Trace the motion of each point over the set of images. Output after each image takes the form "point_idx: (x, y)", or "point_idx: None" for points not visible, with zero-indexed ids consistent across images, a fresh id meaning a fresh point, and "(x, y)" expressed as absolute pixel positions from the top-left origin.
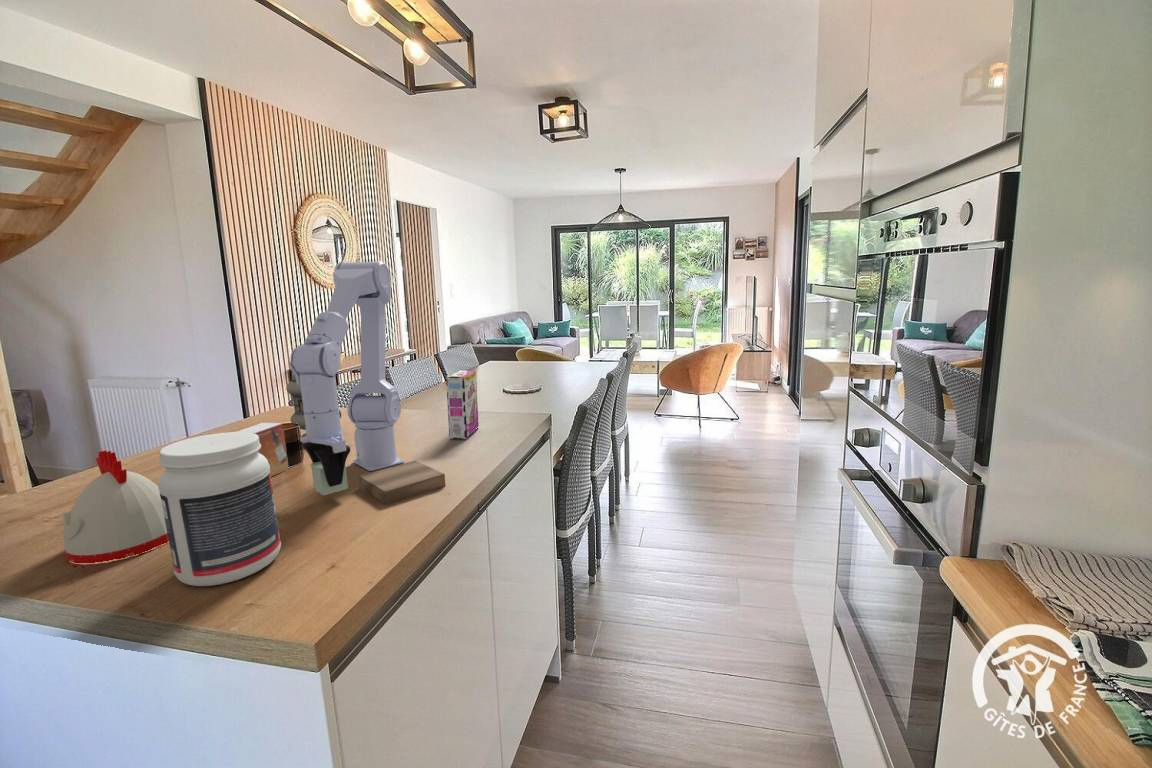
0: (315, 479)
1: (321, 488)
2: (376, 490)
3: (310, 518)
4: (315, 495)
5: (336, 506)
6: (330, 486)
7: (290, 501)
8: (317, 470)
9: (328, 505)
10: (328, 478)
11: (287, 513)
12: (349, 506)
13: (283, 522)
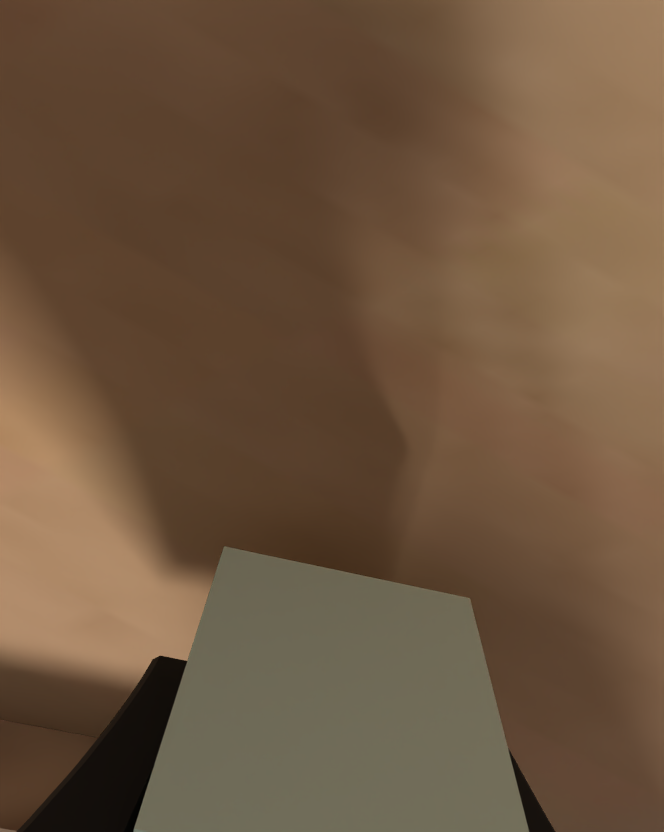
0: (398, 681)
1: (228, 598)
2: (7, 787)
3: (89, 283)
4: (543, 580)
5: (156, 531)
6: (158, 658)
7: (648, 411)
8: (255, 801)
9: (235, 514)
10: (105, 732)
11: (402, 235)
12: (68, 574)
13: (219, 82)
